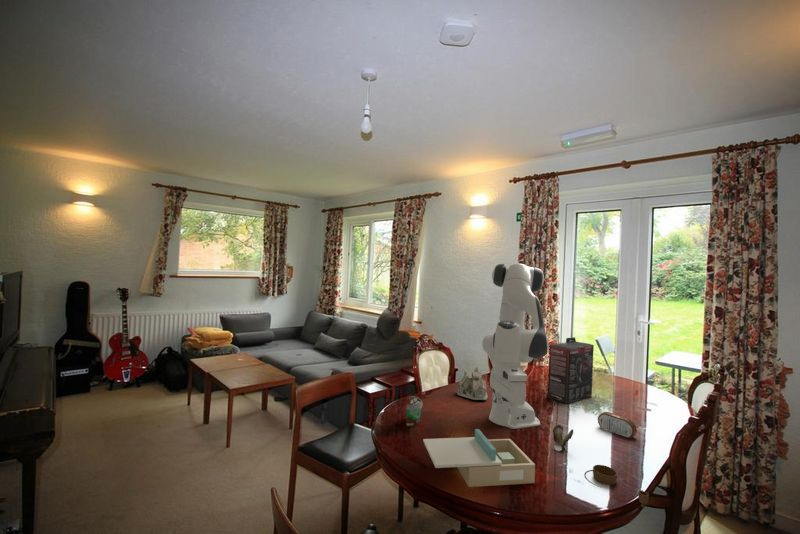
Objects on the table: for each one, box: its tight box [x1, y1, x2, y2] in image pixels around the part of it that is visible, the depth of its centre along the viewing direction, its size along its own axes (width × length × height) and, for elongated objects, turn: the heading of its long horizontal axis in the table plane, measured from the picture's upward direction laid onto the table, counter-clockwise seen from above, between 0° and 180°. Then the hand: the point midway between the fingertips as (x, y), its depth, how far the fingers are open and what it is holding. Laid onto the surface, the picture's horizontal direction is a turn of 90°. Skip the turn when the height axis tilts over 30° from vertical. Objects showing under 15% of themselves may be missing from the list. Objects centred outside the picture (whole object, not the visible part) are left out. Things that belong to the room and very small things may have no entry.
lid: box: [422, 428, 502, 469], centre depth 125 cm, size 22×18×4 cm
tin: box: [597, 411, 638, 439], centre depth 161 cm, size 15×3×8 cm, turn 37°
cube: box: [497, 452, 515, 464], centre depth 128 cm, size 4×4×4 cm
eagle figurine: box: [552, 424, 574, 453], centre depth 144 cm, size 8×7×9 cm
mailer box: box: [456, 438, 536, 488], centre depth 127 cm, size 22×18×7 cm
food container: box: [405, 395, 424, 428], centre depth 164 cm, size 12×6×10 cm, turn 168°
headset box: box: [546, 336, 595, 405], centre depth 207 cm, size 25×12×33 cm, turn 124°
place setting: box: [584, 464, 650, 509], centre depth 119 cm, size 18×20×6 cm
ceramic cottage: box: [456, 366, 488, 401], centre depth 202 cm, size 16×16×15 cm
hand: (505, 408), depth 129 cm, fingers open, 8 cm apart
